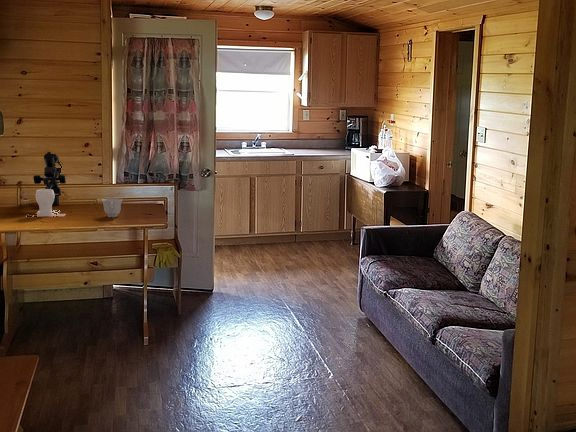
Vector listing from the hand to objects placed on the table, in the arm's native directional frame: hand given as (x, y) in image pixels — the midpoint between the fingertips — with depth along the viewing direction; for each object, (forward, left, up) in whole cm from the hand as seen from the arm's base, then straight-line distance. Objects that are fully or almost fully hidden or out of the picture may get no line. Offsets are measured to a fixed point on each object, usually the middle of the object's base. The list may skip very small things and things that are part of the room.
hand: (48, 190), depth 435 cm
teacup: (-13, +45, -13) cm, 48 cm away
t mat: (+7, +9, -13) cm, 17 cm away
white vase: (+11, +14, -13) cm, 22 cm away
